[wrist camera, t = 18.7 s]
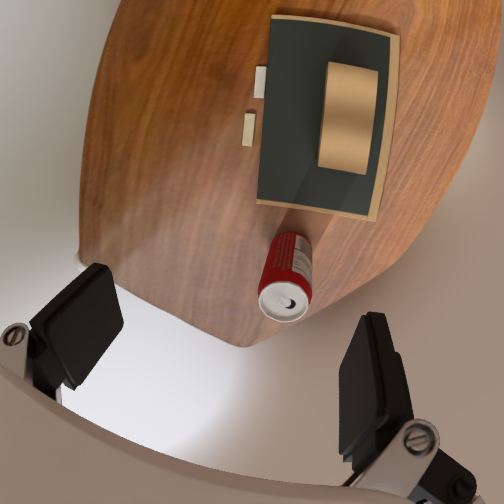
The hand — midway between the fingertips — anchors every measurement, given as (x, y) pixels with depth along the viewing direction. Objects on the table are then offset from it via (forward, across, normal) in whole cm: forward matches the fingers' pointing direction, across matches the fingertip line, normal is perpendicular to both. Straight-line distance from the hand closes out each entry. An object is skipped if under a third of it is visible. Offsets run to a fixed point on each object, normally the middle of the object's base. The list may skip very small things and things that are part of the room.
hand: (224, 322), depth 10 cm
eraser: (+25, -6, -8) cm, 27 cm away
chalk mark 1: (+26, +5, -5) cm, 27 cm away
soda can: (+26, -2, +10) cm, 28 cm away
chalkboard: (+26, -4, -8) cm, 28 cm away
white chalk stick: (+26, +4, -11) cm, 29 cm away
